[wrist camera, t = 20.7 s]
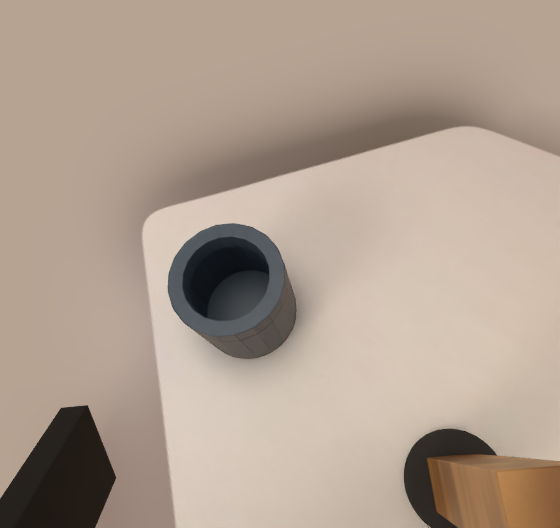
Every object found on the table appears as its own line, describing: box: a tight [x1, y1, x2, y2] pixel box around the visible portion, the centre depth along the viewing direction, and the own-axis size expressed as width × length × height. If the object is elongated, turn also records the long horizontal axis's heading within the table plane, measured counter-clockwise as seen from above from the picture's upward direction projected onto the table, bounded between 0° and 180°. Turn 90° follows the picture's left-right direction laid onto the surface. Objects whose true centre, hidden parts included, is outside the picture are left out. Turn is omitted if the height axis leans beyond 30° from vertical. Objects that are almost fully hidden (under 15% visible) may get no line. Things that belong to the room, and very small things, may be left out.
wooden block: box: [427, 454, 560, 528], centre depth 28 cm, size 4×4×18 cm
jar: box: [168, 223, 296, 359], centre depth 40 cm, size 9×9×10 cm
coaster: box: [404, 429, 497, 528], centre depth 37 cm, size 8×8×1 cm
